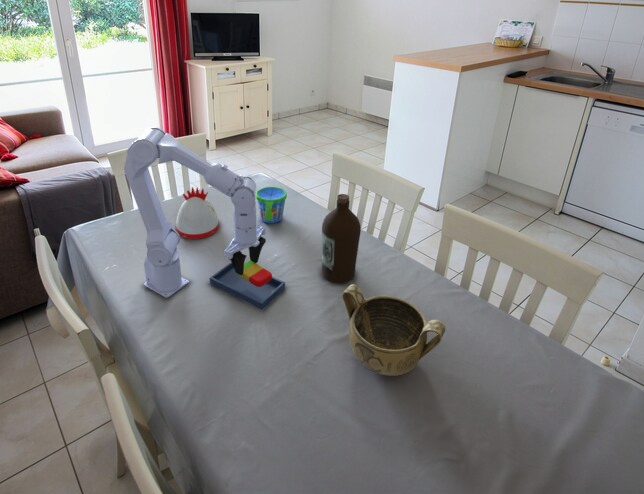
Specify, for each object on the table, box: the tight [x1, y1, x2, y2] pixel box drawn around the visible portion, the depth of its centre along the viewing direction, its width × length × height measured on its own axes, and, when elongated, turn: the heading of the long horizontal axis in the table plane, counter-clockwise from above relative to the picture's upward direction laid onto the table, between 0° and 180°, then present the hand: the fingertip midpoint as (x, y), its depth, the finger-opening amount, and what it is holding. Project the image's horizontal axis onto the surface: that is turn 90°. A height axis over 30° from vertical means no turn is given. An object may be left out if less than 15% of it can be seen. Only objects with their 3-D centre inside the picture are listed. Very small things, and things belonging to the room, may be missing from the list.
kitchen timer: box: [175, 186, 220, 240], centre depth 142 cm, size 14×14×15 cm
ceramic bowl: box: [342, 283, 446, 377], centre depth 93 cm, size 22×17×15 cm
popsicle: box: [227, 258, 273, 287], centre depth 116 cm, size 6×15×2 cm, turn 48°
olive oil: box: [321, 193, 362, 285], centre depth 119 cm, size 11×11×25 cm
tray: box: [209, 261, 286, 310], centre depth 117 cm, size 18×10×2 cm, turn 57°
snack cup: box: [255, 186, 288, 224], centre depth 149 cm, size 16×10×10 cm
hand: (246, 267), depth 115 cm, fingers closed on popsicle, 6 cm apart
